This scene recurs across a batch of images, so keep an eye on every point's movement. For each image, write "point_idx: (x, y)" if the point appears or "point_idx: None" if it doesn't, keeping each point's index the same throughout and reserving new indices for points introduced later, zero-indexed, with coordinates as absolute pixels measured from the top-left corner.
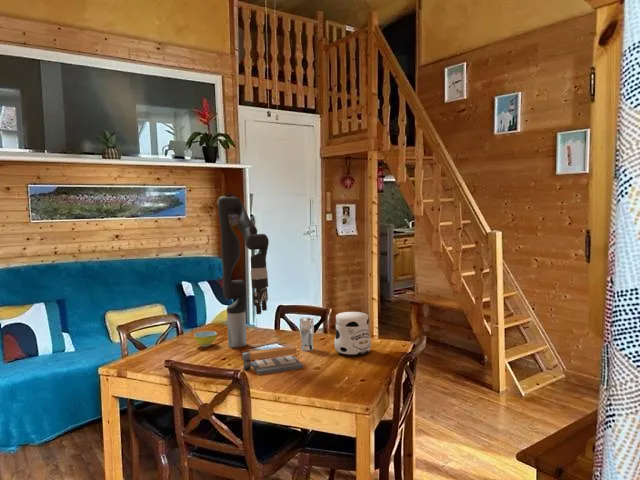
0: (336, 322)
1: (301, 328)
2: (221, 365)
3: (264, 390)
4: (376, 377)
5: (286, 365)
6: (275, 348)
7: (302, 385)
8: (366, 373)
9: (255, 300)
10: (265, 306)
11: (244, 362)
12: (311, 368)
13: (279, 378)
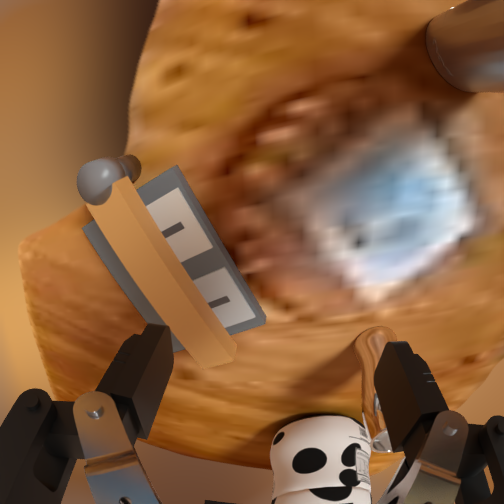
0: (311, 492)
1: (376, 400)
2: (162, 45)
3: (22, 264)
4: (160, 441)
5: (153, 310)
6: (182, 299)
7: (71, 339)
8: (175, 436)
9: (88, 469)
10: (386, 407)
11: None
12: (178, 363)
13: (85, 290)
